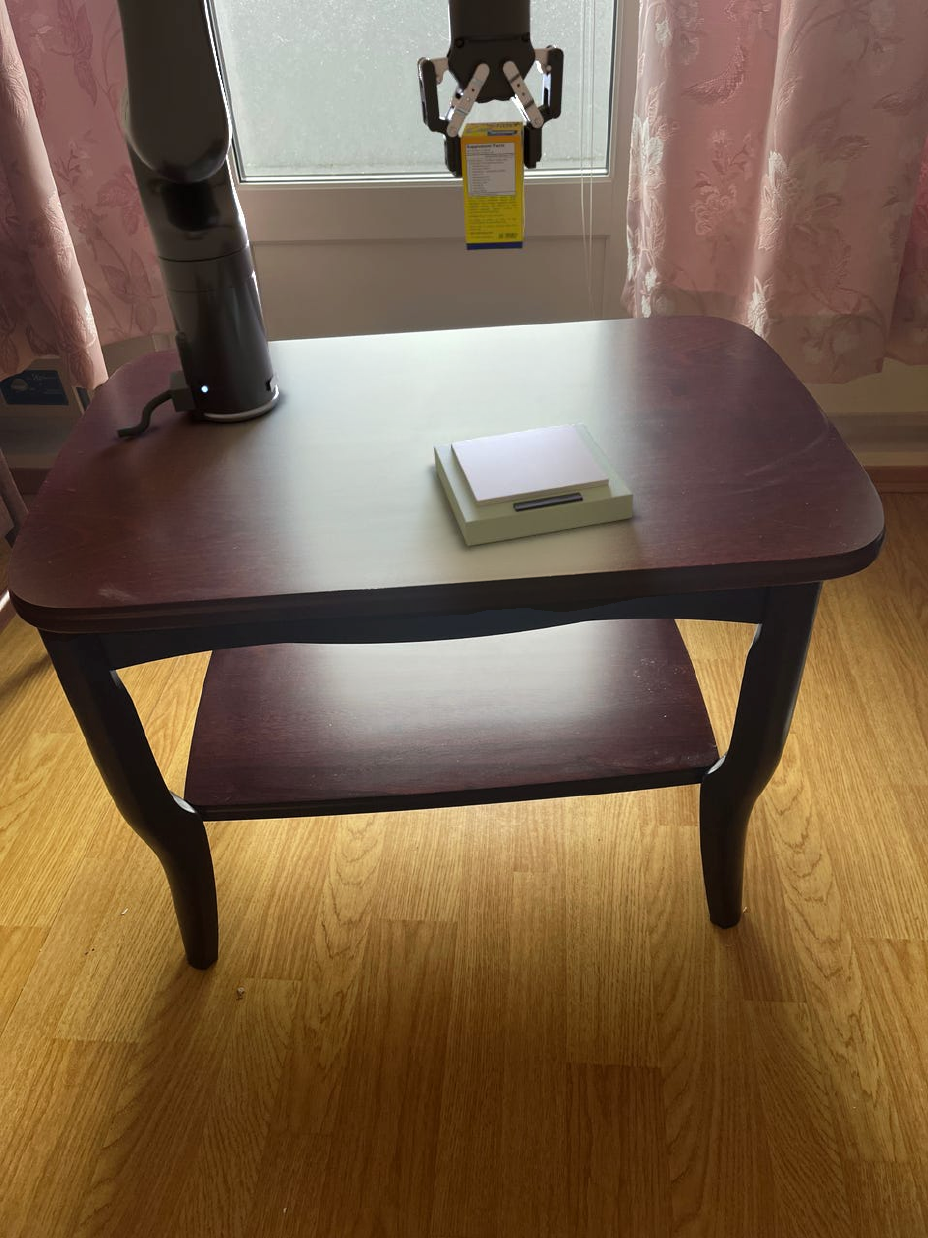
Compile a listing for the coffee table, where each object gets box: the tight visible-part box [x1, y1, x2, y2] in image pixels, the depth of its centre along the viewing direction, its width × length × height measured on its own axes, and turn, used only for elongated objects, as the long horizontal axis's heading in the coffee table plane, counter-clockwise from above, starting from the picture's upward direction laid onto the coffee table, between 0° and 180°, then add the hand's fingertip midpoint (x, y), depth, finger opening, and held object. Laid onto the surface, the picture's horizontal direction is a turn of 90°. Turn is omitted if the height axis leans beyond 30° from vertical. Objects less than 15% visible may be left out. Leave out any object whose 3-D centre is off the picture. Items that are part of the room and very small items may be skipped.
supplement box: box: [460, 120, 526, 251], centre depth 97 cm, size 6×6×11 cm
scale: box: [433, 422, 634, 547], centre depth 88 cm, size 15×14×3 cm
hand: (493, 171), depth 96 cm, fingers closed on supplement box, 7 cm apart
